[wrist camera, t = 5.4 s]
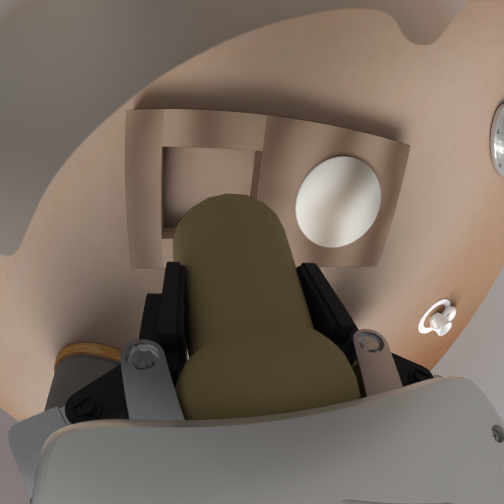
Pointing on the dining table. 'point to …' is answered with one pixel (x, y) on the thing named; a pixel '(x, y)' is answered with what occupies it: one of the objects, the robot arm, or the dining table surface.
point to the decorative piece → (79, 370)
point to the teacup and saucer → (439, 319)
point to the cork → (249, 319)
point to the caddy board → (272, 181)
